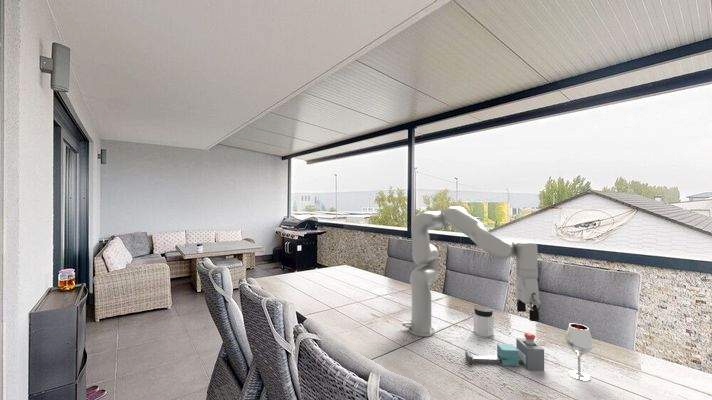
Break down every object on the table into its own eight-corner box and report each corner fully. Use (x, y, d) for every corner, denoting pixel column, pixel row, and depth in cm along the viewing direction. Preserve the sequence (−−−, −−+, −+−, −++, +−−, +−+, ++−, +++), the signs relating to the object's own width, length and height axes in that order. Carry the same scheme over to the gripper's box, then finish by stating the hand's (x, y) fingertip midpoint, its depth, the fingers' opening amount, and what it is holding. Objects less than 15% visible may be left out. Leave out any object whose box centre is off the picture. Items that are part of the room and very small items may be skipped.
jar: (485, 338, 137) (485, 313, 137) (470, 332, 144) (470, 307, 144) (496, 334, 142) (496, 309, 142) (481, 328, 149) (481, 304, 149)
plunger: (527, 349, 114) (527, 336, 114) (522, 345, 117) (522, 332, 118) (536, 349, 114) (536, 336, 114) (531, 345, 117) (531, 332, 117)
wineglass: (560, 369, 111) (559, 322, 112) (580, 369, 112) (579, 321, 112) (578, 383, 103) (577, 331, 103) (599, 381, 104) (599, 331, 104)
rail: (469, 365, 114) (469, 356, 114) (465, 358, 119) (465, 350, 119) (525, 367, 113) (525, 358, 113) (518, 360, 118) (518, 352, 118)
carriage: (502, 365, 114) (502, 350, 114) (497, 358, 119) (497, 343, 119) (518, 365, 113) (518, 350, 113) (512, 358, 118) (512, 344, 118)
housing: (527, 370, 111) (527, 348, 111) (515, 357, 120) (515, 338, 120) (544, 370, 111) (544, 349, 111) (531, 358, 120) (531, 338, 120)
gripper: (507, 267, 125) (508, 308, 124) (528, 277, 108) (529, 324, 107) (525, 268, 124) (526, 308, 124) (549, 278, 107) (550, 325, 107)
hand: (527, 315), depth 116 cm, fingers open, 9 cm apart
